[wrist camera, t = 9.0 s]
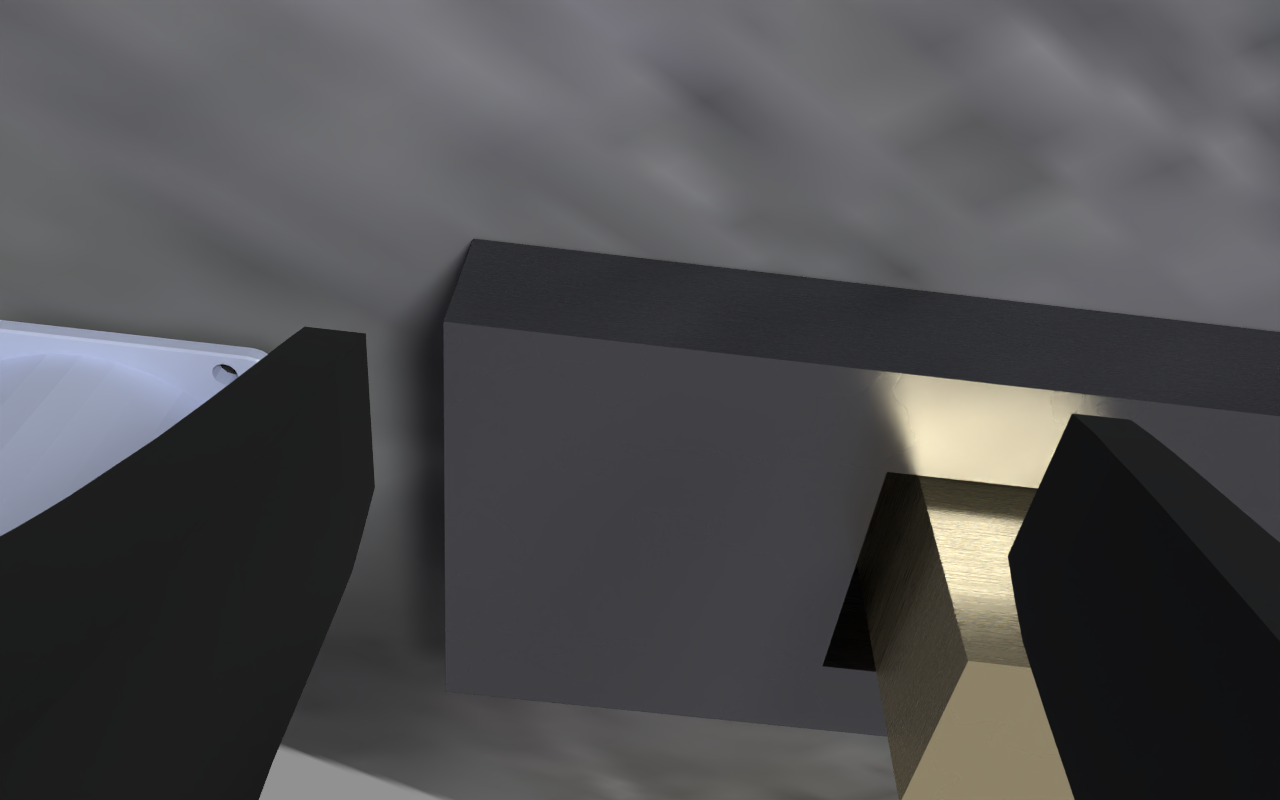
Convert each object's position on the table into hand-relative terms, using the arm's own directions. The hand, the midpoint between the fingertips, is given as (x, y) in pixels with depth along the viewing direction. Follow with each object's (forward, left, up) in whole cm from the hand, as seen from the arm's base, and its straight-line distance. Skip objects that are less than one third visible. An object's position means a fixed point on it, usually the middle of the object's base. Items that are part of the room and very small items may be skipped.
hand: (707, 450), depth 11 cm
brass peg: (+7, -8, -10) cm, 14 cm away
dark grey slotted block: (+7, -8, -9) cm, 14 cm away
